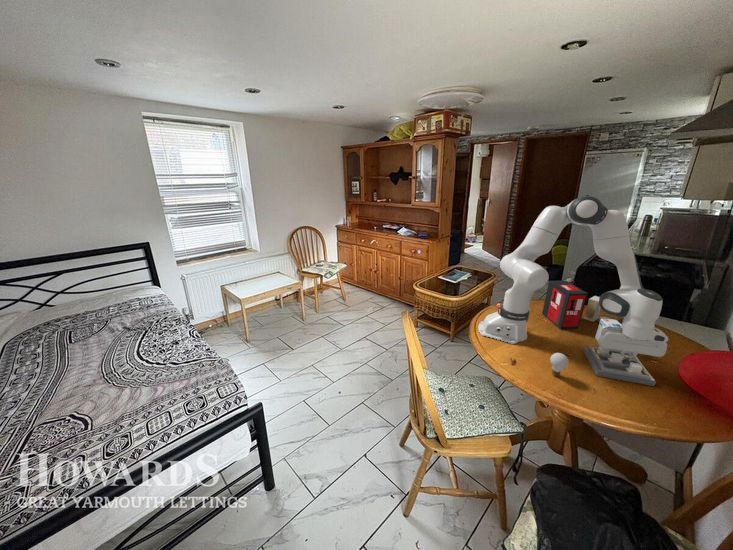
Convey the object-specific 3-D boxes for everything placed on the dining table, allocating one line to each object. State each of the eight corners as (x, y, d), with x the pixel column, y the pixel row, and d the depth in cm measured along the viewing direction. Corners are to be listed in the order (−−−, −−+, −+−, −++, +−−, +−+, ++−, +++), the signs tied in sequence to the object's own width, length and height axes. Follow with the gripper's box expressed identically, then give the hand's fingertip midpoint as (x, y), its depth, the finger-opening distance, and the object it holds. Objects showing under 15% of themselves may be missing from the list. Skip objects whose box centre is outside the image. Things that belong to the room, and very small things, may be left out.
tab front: (628, 373, 111) (631, 366, 109) (625, 368, 113) (628, 361, 112) (641, 376, 109) (645, 368, 108) (638, 371, 112) (641, 363, 111)
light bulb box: (624, 352, 126) (631, 331, 122) (606, 351, 128) (613, 330, 124) (610, 338, 136) (616, 319, 132) (594, 337, 137) (600, 318, 134)
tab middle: (610, 363, 117) (612, 356, 115) (607, 359, 119) (609, 351, 118) (622, 365, 115) (625, 358, 114) (619, 361, 118) (621, 353, 116)
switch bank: (596, 375, 113) (598, 368, 112) (583, 350, 128) (585, 344, 127) (654, 386, 107) (657, 378, 106) (633, 359, 122) (636, 352, 121)
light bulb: (543, 370, 117) (548, 349, 113) (558, 370, 117) (563, 349, 113) (552, 380, 112) (557, 359, 108) (567, 380, 111) (573, 359, 108)
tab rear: (597, 355, 122) (600, 347, 121) (595, 350, 124) (597, 344, 123) (609, 356, 120) (611, 349, 119) (606, 352, 123) (609, 345, 122)
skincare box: (589, 315, 157) (594, 295, 152) (598, 318, 153) (604, 298, 149) (583, 318, 154) (588, 298, 149) (592, 322, 150) (598, 301, 146)
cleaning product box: (541, 313, 160) (549, 280, 153) (557, 313, 160) (565, 280, 153) (560, 329, 145) (569, 293, 137) (578, 329, 145) (588, 293, 137)
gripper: (606, 329, 111) (596, 359, 116) (674, 339, 104) (661, 370, 109) (600, 321, 117) (591, 350, 122) (664, 330, 110) (652, 360, 115)
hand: (625, 359), depth 115 cm, fingers closed
